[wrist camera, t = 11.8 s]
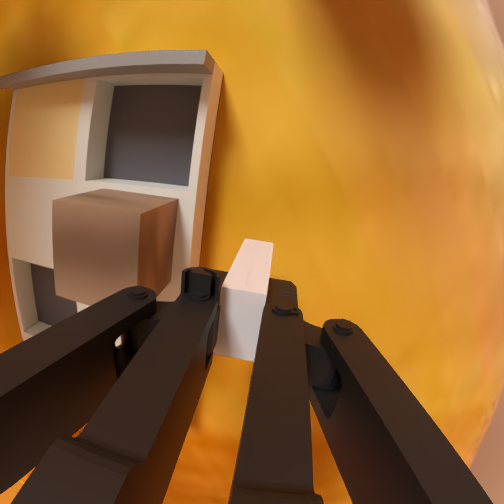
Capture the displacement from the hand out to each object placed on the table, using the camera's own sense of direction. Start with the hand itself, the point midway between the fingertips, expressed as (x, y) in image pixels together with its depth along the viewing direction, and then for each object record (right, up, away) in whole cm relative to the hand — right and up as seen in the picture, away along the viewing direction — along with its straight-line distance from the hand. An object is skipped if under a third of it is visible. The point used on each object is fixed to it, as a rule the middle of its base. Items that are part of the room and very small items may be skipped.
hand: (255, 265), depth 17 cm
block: (-7, +2, +1) cm, 7 cm away
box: (-12, +1, +5) cm, 13 cm away
